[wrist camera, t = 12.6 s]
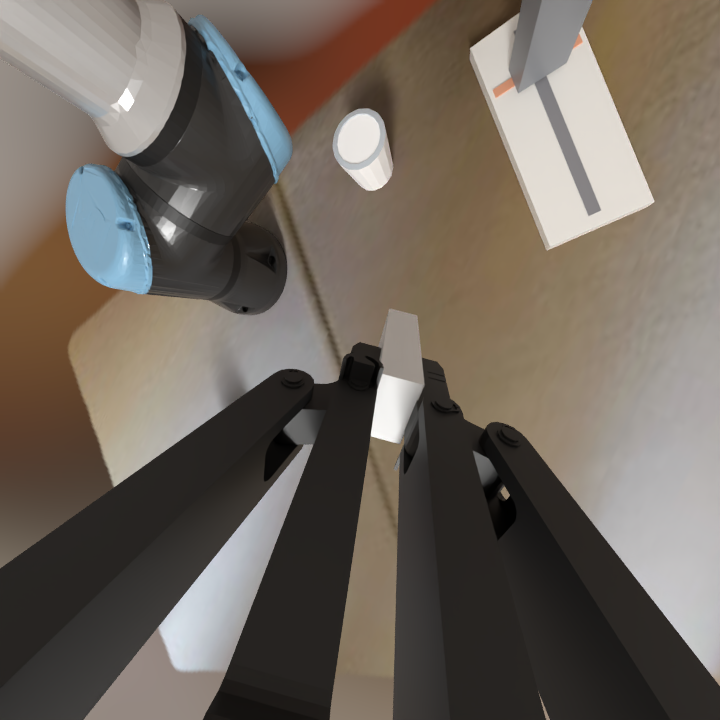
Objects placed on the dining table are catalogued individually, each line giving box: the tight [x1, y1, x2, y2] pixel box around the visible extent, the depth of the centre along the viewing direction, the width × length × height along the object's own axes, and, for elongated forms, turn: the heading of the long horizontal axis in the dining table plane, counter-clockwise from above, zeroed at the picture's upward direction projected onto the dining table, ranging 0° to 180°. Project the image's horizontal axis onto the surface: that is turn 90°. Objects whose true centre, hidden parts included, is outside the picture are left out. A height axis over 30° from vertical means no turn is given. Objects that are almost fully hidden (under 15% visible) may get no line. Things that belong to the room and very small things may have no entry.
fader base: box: [470, 13, 654, 250], centre depth 32 cm, size 26×10×2 cm, turn 22°
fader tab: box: [509, 0, 592, 93], centre depth 25 cm, size 3×5×13 cm, turn 112°
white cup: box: [333, 108, 393, 191], centre depth 37 cm, size 7×7×7 cm
